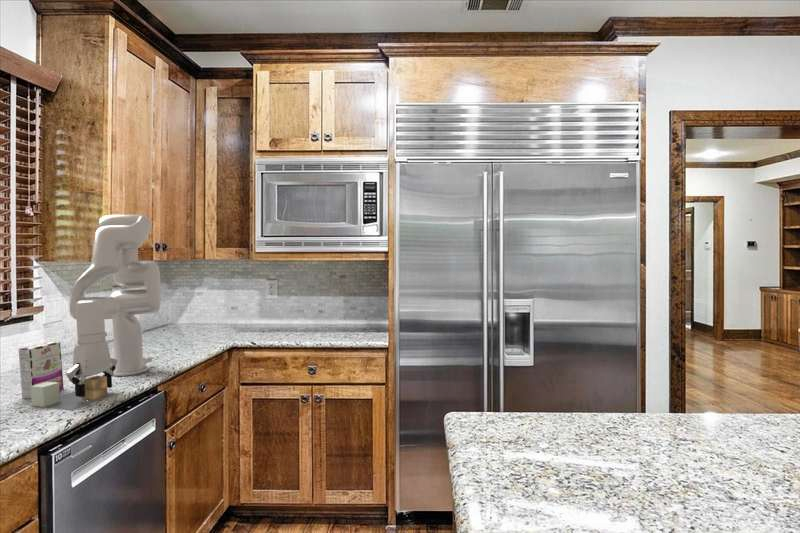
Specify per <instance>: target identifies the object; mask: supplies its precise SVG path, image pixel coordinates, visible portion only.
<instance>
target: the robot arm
mask: <svg viewBox="0 0 800 533" xmlns="http://www.w3.org/2000/svg"><path fill="white" fill-rule="evenodd" d="M98 226H99V228H97V230H96V231H95V233H94V234H95V235H94V241H93V249H92V254H91V255H92V257H91V261H90V267H89V268H87V269H86V270H85V271H84V272H83V273H82V274H81V275H80V276H79V278H77V280H76V281H75V282H74V285H73V286H72V289H71V294H70V300H69V313H70V314H69V315H70V316H71V318H72V319H74V320H76V335H77V336H76V337H77V344H75V345H74V350H73V356H72V358H73V359H72V367H71V368H70V369H69V370H68V371H67V372H66V373H65V375H66V376H67V378H68V380H69V381H70V382H71V383H72V385H74V392H75V394H76V396H77V397H84V396H85V384H82V383H83V382H84V380H85V378H88V377H92V376H96V375H98V374H101V373H102V374H103V375H102V376H106V377H107V389H110V388H112V387H113V380H112V379H113V378H112V376H113V377H127V376H133V375H139V374H143V373H145V372H147V371H148V370H149V367H148V365H147V363H151V362H153V357H151V356H149V357H144V354H143V353H144V351H143V334H142V333H143V332H142V331H143V330H142V329H143V328H142V324H141V322H140V320H139V319H138V318H137V317H136V315H151V314H156V313H157V312H159V311H160V309H161V305H162V304H161V300H162V299H161V297H162V296H161V274H160V273H161V272H160V267H159V265H158V264H157V262H155V261H153V260H139V252H138V251H139V250H138V249H140V248H141V247H142V246H143V244H144V243H145V242H146V240H147V238H148V237H149V236H150V235H151V232H152V226H153V225H152V220H151V219H150V218H149V217H148V216H147V215H146V214H110V215H104V216H102V217H100V218H99V220H98ZM111 276H112V278H113V279H112V280H113V282H114V284H115V285H116V286H120V287H137V286H138V287H139V286H140V287H141V286H142V287H143V286H144V287H145V288H143V289H141V288H140V289H139V288H138V289H119V290H116V291H114V292H112V293H111V294H110V295H109V296H91V297H90V296H86V294H87V291H88V290H89V289H90V288H91V287H92V286H93V285H94V284H96V283H97V282H100V281H101V280H104V279H105V278H108V277H111ZM85 296H86V297H85ZM105 320H112V335H113V336H112V338H113V356H114V358H113V357H111V354H110V348H109V343H108V341H107V340H106V337H107V336H108V332H106V326H105V324H106V322H105Z"/></svg>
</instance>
